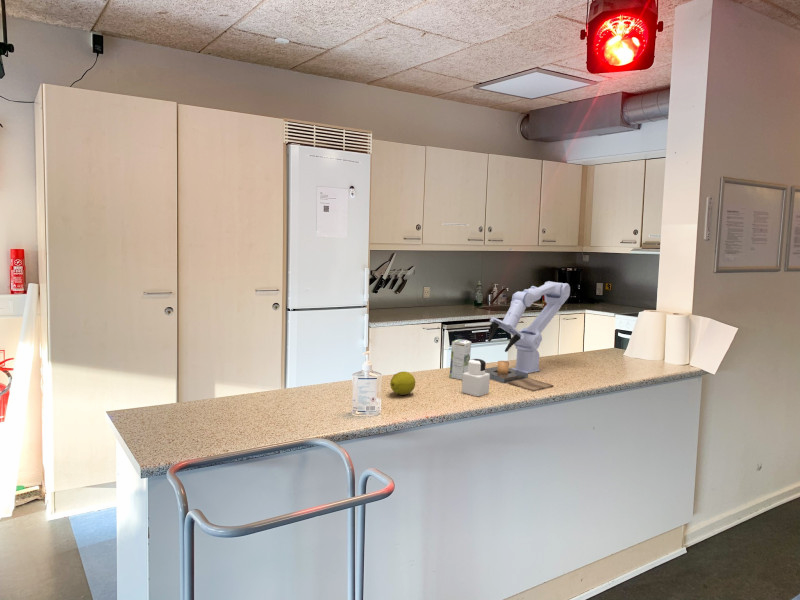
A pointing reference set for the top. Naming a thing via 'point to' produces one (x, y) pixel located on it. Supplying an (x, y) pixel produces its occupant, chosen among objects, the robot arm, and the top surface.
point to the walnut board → (530, 384)
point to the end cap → (503, 367)
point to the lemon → (402, 383)
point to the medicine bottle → (476, 378)
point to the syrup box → (459, 358)
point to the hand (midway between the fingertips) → (497, 346)
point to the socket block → (506, 375)
